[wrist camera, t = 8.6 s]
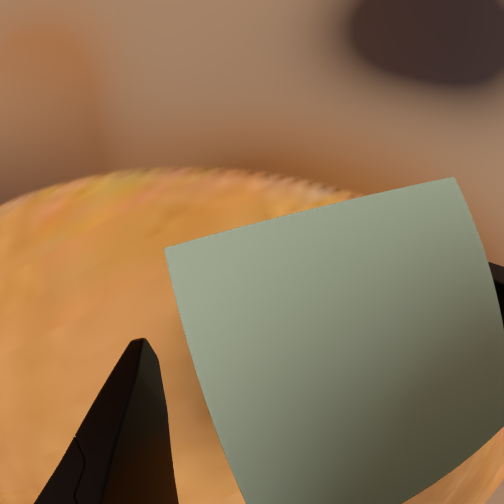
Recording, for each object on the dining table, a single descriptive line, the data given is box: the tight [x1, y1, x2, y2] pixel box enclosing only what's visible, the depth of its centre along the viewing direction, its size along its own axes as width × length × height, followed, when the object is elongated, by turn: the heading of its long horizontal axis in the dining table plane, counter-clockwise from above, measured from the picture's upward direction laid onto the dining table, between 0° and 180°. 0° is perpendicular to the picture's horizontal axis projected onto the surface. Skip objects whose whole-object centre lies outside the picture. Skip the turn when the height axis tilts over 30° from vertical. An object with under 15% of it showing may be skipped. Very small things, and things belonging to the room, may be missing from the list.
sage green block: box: [164, 177, 504, 504], centre depth 9 cm, size 5×5×12 cm
